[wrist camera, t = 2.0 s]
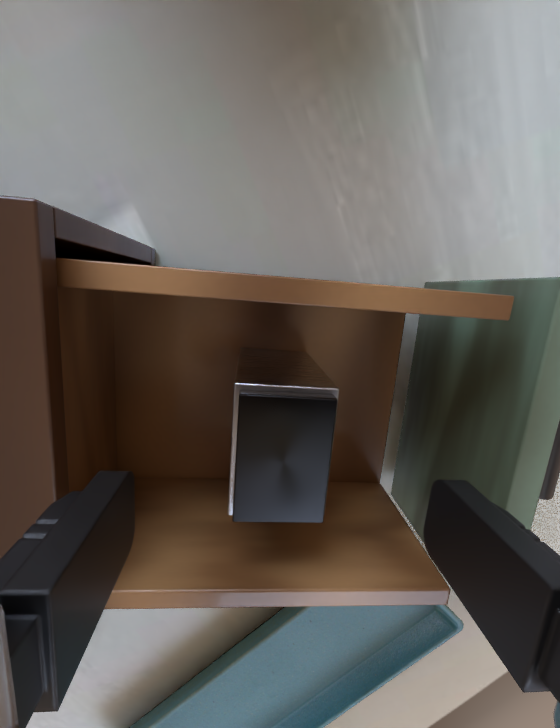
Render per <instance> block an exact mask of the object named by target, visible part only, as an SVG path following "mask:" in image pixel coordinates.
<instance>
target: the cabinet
mask: <svg viewBox="0 0 560 728" xmlns="http://www.w3.org/2000/svg"><path fill="white" fill-rule="evenodd" d="M56 258H64V259H76V260H88V261H100V262H112V263H124V264H137V265H149V266H155V249H154V248H151V247H149V246H147V245H144V244H142V243H140V242H137V241H135V240H133V239H130V238H128V237H125V236H123V235H121V234H118V233H116V232H113V231H111V230H109V229H106V228H104V227H101V226H99V225H97V224H94V223H92V222H89V221H87V220H85V219H82V218H80V217H77V216H75V215H73V214H70V213H68V212H65V211H63V210H61V209H58V208H56V207H54V206H50V205H48V204H45V203H43V202H41V201H38V200H36V199H31V198H21V197H11V196H1V195H0V559H1V558H2V557H3V556H4V555H5V554H6V552H7V551H8V550H9V549H10V548H11V547H12V546H13V545H14V544H15V543H16V542H17V541H18V539H22V537H23V534H24V533H25V532H26V531H27V530H28V529H29V528H30V526H31V525H32V524H35V523H36V520H37V519H38V518H39V517H40V516H41V515H42V513H43V512H44V511H45V510H46V509H47V508H48V507H49V506H50V505H51V504H52V503H54V502H55V501H57V500H59V499H60V498H62V497H64V496H65V495H67V494H68V493H69V477H68V460H67V442H66V425H65V408H64V391H63V374H62V357H61V339H60V322H59V305H58V288H57V271H56Z"/></svg>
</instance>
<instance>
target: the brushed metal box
mask: <svg viewBox="0 0 560 728" xmlns="http://www.w3.org/2000/svg"><path fill="white" fill-rule="evenodd" d="M338 397H339V388H338V387H337V386H336V384H335V383H334V382H333V381H332V380H331V379H330V378H329V377H328V375H327V374H326V373H325V372H324V371H323V370H322V369H321V368H320V366H319V365H318V364H317V363H316V362H315V361H314V360H313V359H312V357H311V356H310V355H309V354H308V353H307V352H302V351H286V350H270V349H254V348H240V353H239V358H238V364H237V370H236V375H235V381H234V391H233V411H232V431H231V450H230V470H229V490H228V510H227V513H228V515H232V521H233V522H287V523H323V520H324V515H325V507H326V499H327V491H328V482H329V474H330V465H331V457H332V448H333V440H334V431H335V423H336V414H337V406H338Z"/></svg>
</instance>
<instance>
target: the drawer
mask: <svg viewBox="0 0 560 728" xmlns="http://www.w3.org/2000/svg"><path fill="white" fill-rule="evenodd" d="M56 271H57V288H58V305H59V322H60V339H61V357H62V374H63V391H64V408H65V425H66V442H67V460H68V477H69V493H70V492H72V491H83V489H84V488H85V487H86V486H87V485H88V483H89V482H90V481H91V480H92V479H93V477H94V476H95V475H96V474H97V473H98V472H99V471H101V470H103V471H132V472H133V474H134V483H135V531H134V538H133V543H132V546H131V550H130V553H129V555H128V557H127V559H126V562H125V564H124V566H123V568H122V571H121V573H120V575H119V577H118V579H117V582H116V584H115V586H114V588H113V590H112V593H111V595H110V597H109V599H108V601H107V604H106V606H105V608H104V609H155V608H236V607H318V606H399V605H446V604H447V603H448V598H449V594H450V588H449V586H448V585H447V583H446V582H445V580H444V579H443V577H442V576H441V574H440V573H439V571H438V570H437V568H436V567H435V565H434V564H433V562H432V561H431V559H430V558H429V556H428V555H427V553H426V552H425V550H424V549H423V547H422V546H421V544H420V543H419V541H418V540H417V538H416V537H415V535H414V534H413V532H412V531H411V529H410V528H409V526H408V525H407V523H406V521H405V520H404V518H403V517H402V515H401V514H400V512H399V511H398V509H397V508H396V506H395V505H394V503H393V502H392V500H391V499H390V497H389V496H388V494H387V493H386V491H385V490H384V488H383V487H382V485H381V484H380V478H381V472H382V465H383V459H384V452H385V446H386V439H387V432H388V426H389V419H390V413H391V406H392V400H393V393H394V387H395V380H396V374H397V367H398V361H399V354H400V347H401V341H402V334H403V328H404V321H405V315H406V313H412V314H420V317H419V323H418V329H417V335H416V342H415V348H414V354H413V360H412V366H411V372H410V379H409V385H408V391H407V397H406V403H405V410H404V416H403V422H402V428H401V434H400V440H399V447H398V453H397V459H396V465H395V471H394V478H393V484H392V490H391V495H392V497H393V498H394V500H395V501H396V503H397V504H398V505H399V507H400V508H401V510H402V511H403V513H404V514H405V516H406V517H407V519H408V520H409V522H410V523H411V525H412V526H413V527H414V529H415V530H416V532H417V533H418V535H419V536H420V538H421V539H422V541H423V542H424V534H423V531H424V524H425V519H426V513H427V508H428V503H429V498H430V492H431V487H432V485H433V483H434V481H436V480H439V479H440V480H465V481H467V482H469V483H470V484H471V485H472V486H473V487H475V488H476V489H477V490H478V491H479V492H480V493H481V494H483V495H484V496H485V497H486V498H487V499H488V500H489V501H491V502H492V503H494V504H496V505H497V506H499V507H501V508H503V509H504V510H506V511H508V512H509V513H510V514H511V515H513V516H514V517H515V518H516V519H517V520H519V521H520V522H521V523H522V524H523V525H524V526H525V528H526V529H529V530H531V526H532V522H533V518H534V515H535V511H536V507H537V503H538V500H539V499H544V500H548V499H552V498H553V495H554V492H555V488H556V484H557V481H558V477H559V473H560V277H548V278H522V279H496V280H470V281H444V282H426V283H425V286H424V288H413V287H401V286H389V285H377V284H365V283H353V282H341V281H329V280H317V279H305V278H293V277H281V276H269V275H257V274H245V273H233V272H221V271H209V270H197V269H185V268H173V267H161V266H149V265H137V264H124V263H112V262H100V261H88V260H76V259H64V258H56ZM240 348H254V349H270V350H286V351H302V352H307V353H308V354H309V355H310V356H311V357H312V359H313V360H314V361H315V362H316V363H317V364H318V365H319V366H320V368H321V369H322V370H323V371H324V372H325V373H326V374H327V375H328V377H329V378H330V379H331V380H332V381H333V382H334V383H335V384H336V386H337V387H338V388H339V397H338V406H337V414H336V423H335V431H334V440H333V448H332V457H331V465H330V474H329V482H328V491H327V499H326V507H325V515H324V520H323V523H287V522H233V521H232V515H228V513H227V510H228V490H229V470H230V450H231V431H232V411H233V391H234V381H235V375H236V370H237V364H238V358H239V353H240ZM424 544H425V542H424Z"/></svg>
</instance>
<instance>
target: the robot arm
mask: <svg viewBox="0 0 560 728" xmlns="http://www.w3.org/2000/svg"><path fill="white" fill-rule="evenodd" d="M134 531H135V483H134V474H133V472H132V471H103V470H101V471H99V472H98V473H97V474H96V475H95V476H94V477H93V479H92V480H91V481H90V482H89V483H88V485H87V486H86V487H85V488H84V489H83V491H72V492H70V493H68V494H67V495H65V496H64V497H62V498H60V499H59V500H57V501H55V502H54V503H52V504H51V505H50V506H49V507H48V508H47V509H46V510H45V511H44V512H43V513H42V515H41V516H40V517H39V518H38V519H37V520H36V523H35V524H32V525H31V526H30V528H29V529H28V530H27V531H26V532H25V533H24V534H23V537H22V539H18V541H17V542H16V543H15V544H14V545H13V546H12V547H11V548H10V549H9V550H8V551H7V552H6V554H5V555H4V556H3V557H2V558H1V559H0V728H26V726H27V724H28V722H29V720H30V718H31V716H32V714H33V712H52V711H58V710H59V707H60V705H61V703H62V701H63V699H64V696H65V694H66V692H67V690H68V688H69V685H70V683H71V681H72V679H73V676H74V674H75V672H76V670H77V668H78V665H79V663H80V661H81V659H82V657H83V654H84V652H85V650H86V648H87V646H88V643H89V641H90V639H91V637H92V635H93V632H94V630H95V628H96V626H97V623H98V621H99V619H100V617H101V615H102V612H103V610H104V608H105V606H106V604H107V601H108V599H109V597H110V595H111V593H112V590H113V588H114V586H115V584H116V582H117V579H118V577H119V575H120V573H121V571H122V568H123V566H124V564H125V562H126V559H127V557H128V555H129V553H130V550H131V546H132V543H133V538H134ZM423 534H424V542H425V546H426V549H427V551H428V553H429V555H430V557H431V558H432V560H433V561H434V562H435V564H436V565H437V567H438V568H439V570H440V571H441V573H442V574H443V576H444V577H445V579H446V580H447V582H448V583H449V584H450V586H451V587H452V589H453V590H454V592H455V593H456V595H457V596H458V598H459V599H460V601H461V602H462V603H463V605H464V606H465V608H466V609H467V611H468V612H469V614H470V615H471V617H472V618H473V620H474V621H475V623H476V624H477V625H478V627H479V628H480V630H481V631H482V633H483V634H484V636H485V637H486V639H487V640H488V642H489V643H490V644H491V646H492V647H493V649H494V650H495V652H496V653H497V655H498V656H499V658H500V659H501V661H502V662H503V664H504V665H505V666H506V668H507V669H508V671H509V672H510V674H511V675H512V677H513V678H514V680H515V681H516V683H517V684H518V686H519V687H520V688H521V690H522V691H523V692H543V691H551V693H552V694H553V695H554V697H555V698H556V699H557V703H556V706H555V709H554V724H555V728H560V555H558V554H557V553H556V552H555V551H554V550H552V549H551V548H550V547H549V546H548V545H547V544H545V543H544V542H541V541H540V538H538V537H537V536H536V535H535V534H534V533H533V532H531V531H530V530H529V529H526V528H525V526H524V525H523V524H522V523H521V522H520V521H519V520H517V519H516V518H515V517H514V516H513V515H511V514H510V513H509V512H508V511H506V510H504V509H503V508H501V507H499V506H497V505H496V504H494V503H492V502H491V501H489V500H488V499H487V498H486V497H485V496H484V495H483V494H481V493H480V492H479V491H478V490H477V489H476V488H475V487H473V486H472V485H471V484H470V483H469V482H467V481H465V480H440V479H439V480H436V481H434V483H433V485H432V487H431V492H430V498H429V503H428V508H427V513H426V519H425V524H424V531H423Z"/></svg>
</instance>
